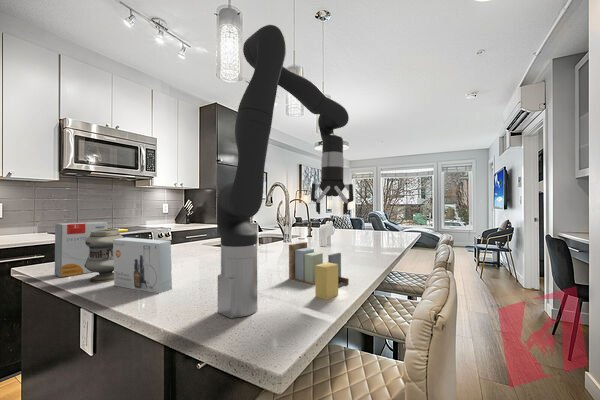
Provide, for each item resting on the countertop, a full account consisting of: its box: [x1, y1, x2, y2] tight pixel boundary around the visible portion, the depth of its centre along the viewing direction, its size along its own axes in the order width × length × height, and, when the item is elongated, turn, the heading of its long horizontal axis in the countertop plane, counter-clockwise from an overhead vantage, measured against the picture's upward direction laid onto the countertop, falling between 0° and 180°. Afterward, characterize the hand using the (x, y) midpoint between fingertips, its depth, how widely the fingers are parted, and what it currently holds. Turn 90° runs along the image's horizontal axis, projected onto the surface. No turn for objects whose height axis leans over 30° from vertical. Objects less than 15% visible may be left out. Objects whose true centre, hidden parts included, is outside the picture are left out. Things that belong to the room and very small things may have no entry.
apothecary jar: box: [85, 228, 125, 283], centre depth 104 cm, size 12×12×18 cm
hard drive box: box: [54, 221, 108, 278], centre depth 114 cm, size 16×8×20 cm, turn 143°
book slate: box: [295, 247, 315, 281], centre depth 100 cm, size 6×4×10 cm
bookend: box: [327, 252, 347, 289], centre depth 90 cm, size 6×3×10 cm, turn 137°
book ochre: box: [314, 262, 339, 301], centre depth 81 cm, size 6×4×10 cm
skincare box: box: [113, 236, 173, 294], centre depth 93 cm, size 21×6×16 cm, turn 68°
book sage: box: [304, 251, 324, 283], centre depth 97 cm, size 6×4×9 cm, turn 137°
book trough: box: [288, 241, 350, 289], centre depth 96 cm, size 8×19×13 cm, turn 47°
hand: (331, 214), depth 96 cm, fingers open, 8 cm apart
